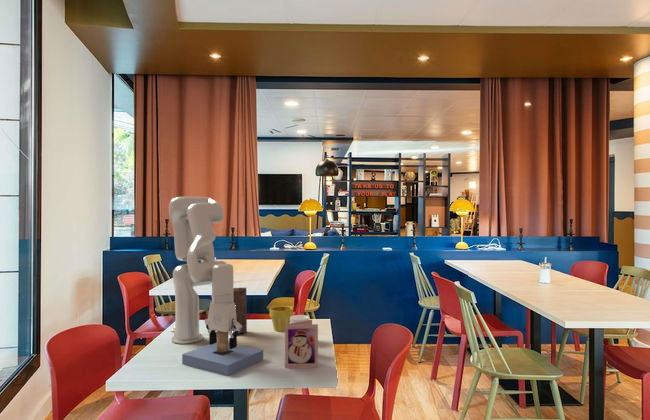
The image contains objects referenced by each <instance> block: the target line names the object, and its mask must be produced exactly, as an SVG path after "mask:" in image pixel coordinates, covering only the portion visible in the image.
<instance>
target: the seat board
mask: <svg viewBox="0 0 650 420" xmlns="http://www.w3.org/2000/svg"><path fill="white" fill-rule="evenodd" d="M181 356H182V358H181V359H182V361H181V363H182V365H185V366H189V367H192V368H196V369H200V370H205V371H207V372H212V373H215V374H219V375H224V376H227V377H229V376H231V375H234V374H235V373H237V372H240V371H242V370H244V369H247V368H248V367H250V366H251V367H252V366H253V365H255V364H257V363H259V362H261V361H263V360H264V350H263V349H259V348H256V347H255V348H254V347H249V346H246V345H240V344H237V347H236V348H233V349H229V354H226V355H224V356H223V355H218V354H217V343H214V344H212V345H210V344H206V345H203V346H201V347H198V348H196V349H191V350H190V351H187V352H184V353H182V354H181Z"/></svg>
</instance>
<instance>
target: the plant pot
mask: <svg viewBox="0 0 650 420" xmlns="http://www.w3.org/2000/svg"><path fill="white" fill-rule="evenodd" d="M293 313H294V312H293V307H292V306H290V305H277V306H272V307H270V308H269V317H270V318H271V322H272V326H273V327H272V328H273V331H275V332H278V333H279V332H281V333H282V332H285V324H290V317H291V316H293Z"/></svg>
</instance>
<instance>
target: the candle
mask: <svg viewBox="0 0 650 420" xmlns="http://www.w3.org/2000/svg"><path fill="white" fill-rule="evenodd" d="M233 302H234V303H235V305H236V321H237V322H238V323H240V324H241V325H242V329H241V331H240V333H239V334H242V333H247V332H248V329H247V328H248V323H247V321H248V320H247V319H248V317H247V315H248V314H247V312H248V311H247V287H233Z"/></svg>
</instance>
